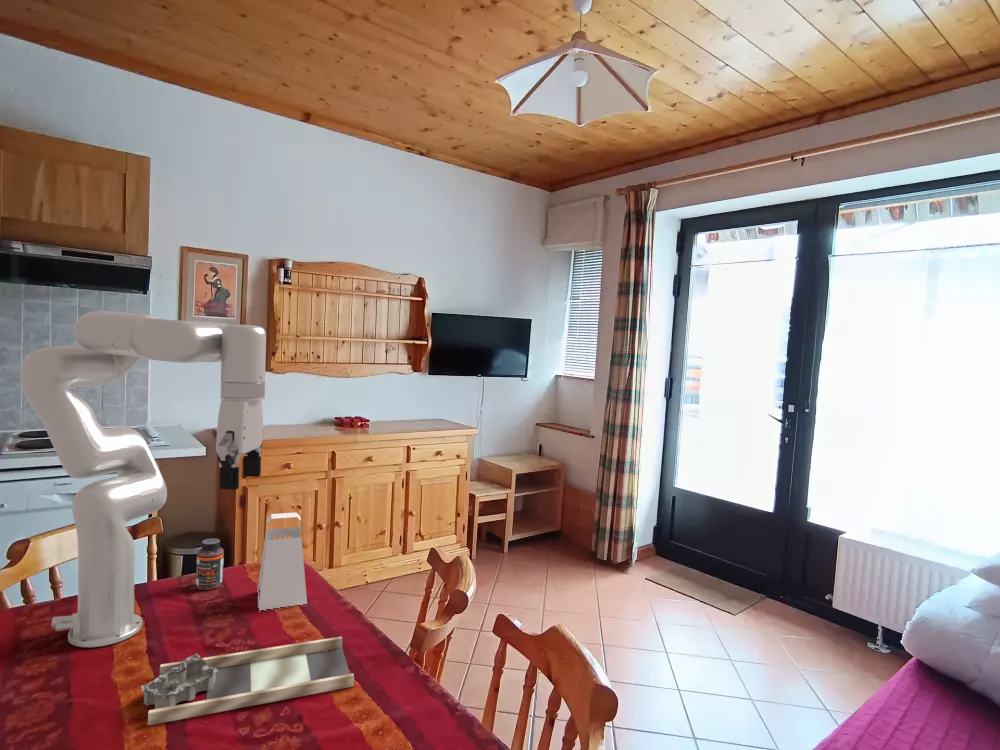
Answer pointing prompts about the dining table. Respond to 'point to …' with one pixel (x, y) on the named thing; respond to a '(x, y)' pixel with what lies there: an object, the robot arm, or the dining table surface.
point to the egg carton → (180, 683)
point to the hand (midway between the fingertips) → (241, 482)
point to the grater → (282, 568)
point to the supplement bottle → (209, 565)
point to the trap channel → (265, 678)
